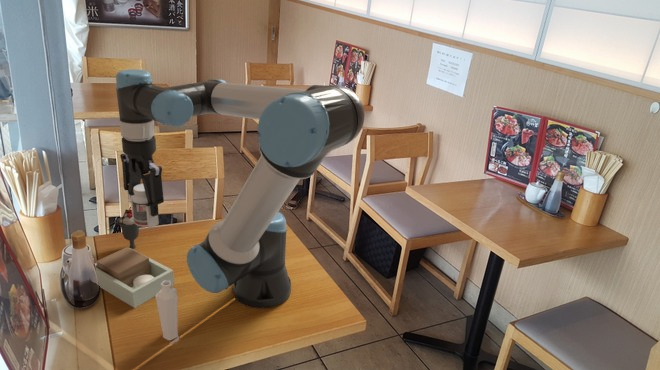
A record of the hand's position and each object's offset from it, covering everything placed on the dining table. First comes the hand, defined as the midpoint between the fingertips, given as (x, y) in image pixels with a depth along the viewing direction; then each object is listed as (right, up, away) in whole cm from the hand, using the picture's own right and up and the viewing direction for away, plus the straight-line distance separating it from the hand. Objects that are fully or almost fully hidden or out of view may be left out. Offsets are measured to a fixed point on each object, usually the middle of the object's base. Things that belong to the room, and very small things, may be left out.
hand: (145, 221), depth 120 cm
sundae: (-11, -10, +17) cm, 23 cm away
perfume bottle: (+12, -26, -15) cm, 32 cm away
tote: (-4, -17, +2) cm, 18 cm away
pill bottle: (0, 0, 0) cm, 0 cm away
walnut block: (-6, -16, +3) cm, 17 cm away
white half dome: (0, -18, -1) cm, 18 cm away
